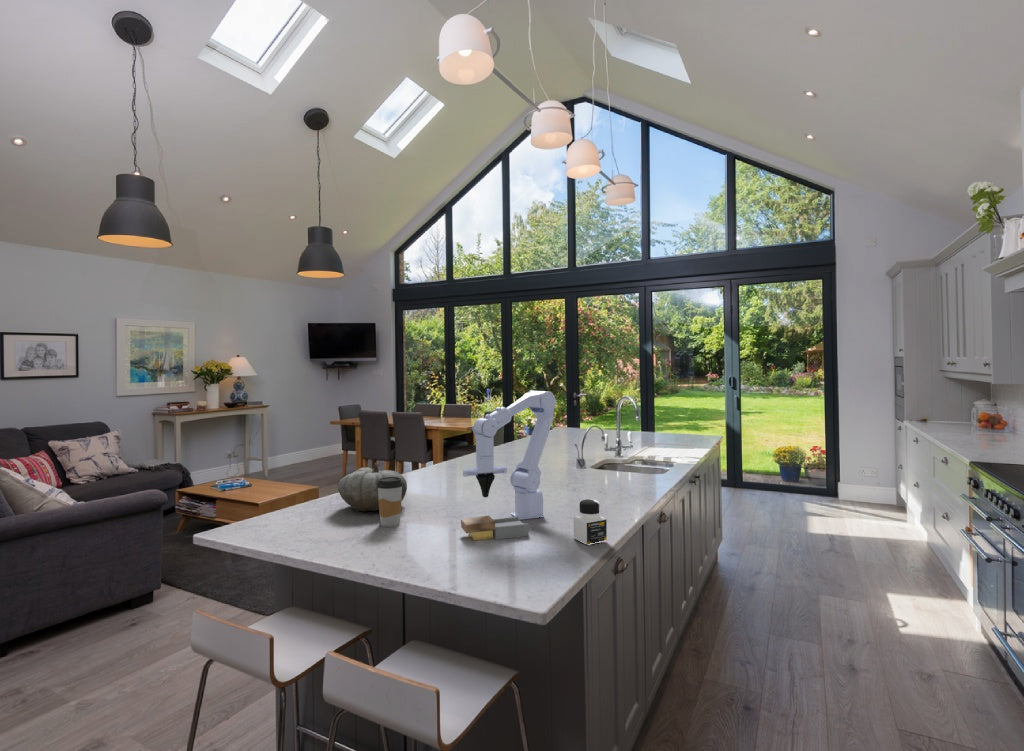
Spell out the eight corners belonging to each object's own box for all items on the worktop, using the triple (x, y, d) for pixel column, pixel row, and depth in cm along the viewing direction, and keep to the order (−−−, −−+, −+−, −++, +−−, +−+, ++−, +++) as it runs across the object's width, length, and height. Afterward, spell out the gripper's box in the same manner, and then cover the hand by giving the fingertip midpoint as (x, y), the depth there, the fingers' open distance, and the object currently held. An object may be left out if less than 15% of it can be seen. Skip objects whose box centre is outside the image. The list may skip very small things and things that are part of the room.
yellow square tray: (487, 532, 172) (487, 525, 172) (493, 538, 166) (493, 530, 166) (468, 534, 170) (468, 527, 170) (474, 540, 164) (473, 532, 164)
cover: (489, 523, 173) (488, 515, 173) (495, 529, 167) (494, 521, 166) (461, 526, 171) (460, 518, 170) (466, 533, 164) (465, 525, 164)
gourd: (339, 513, 186) (343, 461, 189) (332, 508, 209) (336, 462, 212) (412, 513, 196) (415, 463, 199) (398, 508, 218) (401, 464, 221)
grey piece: (518, 527, 177) (518, 516, 177) (528, 535, 169) (528, 523, 169) (487, 531, 174) (487, 519, 174) (496, 539, 165) (496, 527, 165)
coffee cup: (408, 522, 185) (407, 477, 184) (392, 529, 177) (392, 482, 177) (388, 519, 188) (387, 475, 188) (372, 526, 181) (371, 480, 180)
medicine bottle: (587, 546, 158) (586, 504, 158) (573, 539, 165) (573, 499, 165) (607, 542, 162) (606, 501, 161) (592, 535, 168) (592, 496, 168)
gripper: (501, 452, 186) (502, 492, 186) (460, 454, 181) (460, 495, 181) (508, 455, 180) (509, 496, 180) (465, 458, 175) (466, 500, 175)
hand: (485, 496), depth 180 cm, fingers closed
